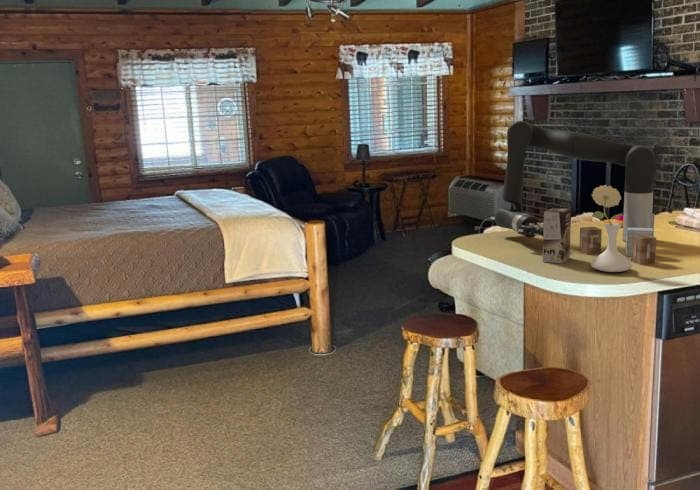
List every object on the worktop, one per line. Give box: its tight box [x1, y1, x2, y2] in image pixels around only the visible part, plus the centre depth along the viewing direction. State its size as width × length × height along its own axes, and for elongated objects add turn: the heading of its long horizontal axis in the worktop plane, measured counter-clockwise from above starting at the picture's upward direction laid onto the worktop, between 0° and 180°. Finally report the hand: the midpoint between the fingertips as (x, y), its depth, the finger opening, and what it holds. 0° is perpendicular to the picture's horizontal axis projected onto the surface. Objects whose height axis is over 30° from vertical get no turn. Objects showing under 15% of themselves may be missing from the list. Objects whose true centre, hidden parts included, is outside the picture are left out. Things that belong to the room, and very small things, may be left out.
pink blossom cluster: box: [603, 214, 624, 228], centre depth 267 cm, size 8×8×4 cm
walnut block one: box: [630, 235, 657, 266], centre depth 204 cm, size 5×5×8 cm
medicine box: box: [625, 228, 655, 257], centre depth 214 cm, size 8×4×9 cm, turn 71°
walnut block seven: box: [578, 226, 603, 255], centre depth 221 cm, size 5×5×8 cm
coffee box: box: [542, 207, 572, 264], centre depth 211 cm, size 9×6×16 cm
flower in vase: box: [590, 184, 633, 273], centre depth 195 cm, size 13×11×25 cm
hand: (546, 233), depth 219 cm, fingers closed
